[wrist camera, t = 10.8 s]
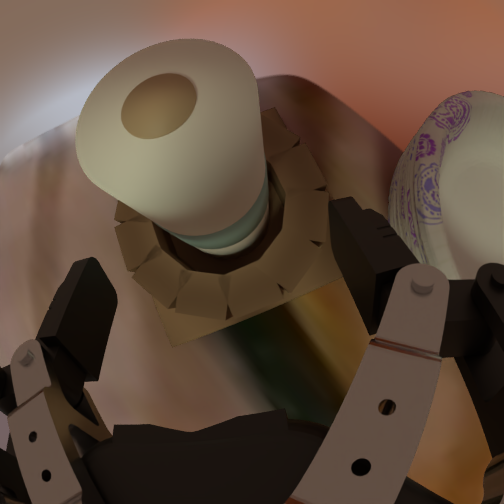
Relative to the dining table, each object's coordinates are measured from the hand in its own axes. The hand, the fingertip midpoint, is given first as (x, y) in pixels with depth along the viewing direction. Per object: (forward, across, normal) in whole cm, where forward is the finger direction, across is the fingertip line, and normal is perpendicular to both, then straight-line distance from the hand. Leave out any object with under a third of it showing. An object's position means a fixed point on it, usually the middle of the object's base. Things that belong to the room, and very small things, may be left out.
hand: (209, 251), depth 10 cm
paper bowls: (+6, -16, +8) cm, 19 cm away
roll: (+8, 0, +4) cm, 9 cm away
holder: (+9, 0, +4) cm, 10 cm away
